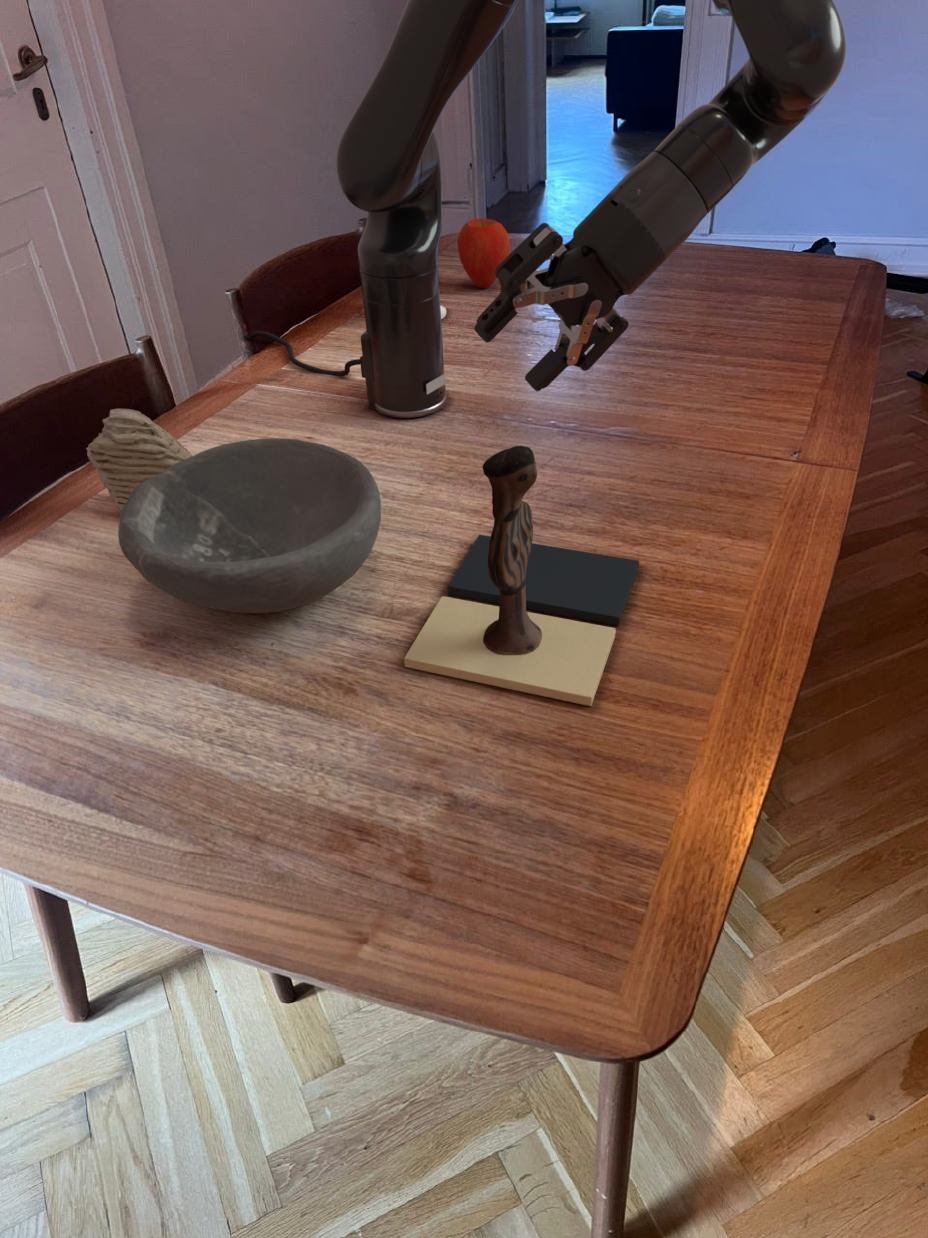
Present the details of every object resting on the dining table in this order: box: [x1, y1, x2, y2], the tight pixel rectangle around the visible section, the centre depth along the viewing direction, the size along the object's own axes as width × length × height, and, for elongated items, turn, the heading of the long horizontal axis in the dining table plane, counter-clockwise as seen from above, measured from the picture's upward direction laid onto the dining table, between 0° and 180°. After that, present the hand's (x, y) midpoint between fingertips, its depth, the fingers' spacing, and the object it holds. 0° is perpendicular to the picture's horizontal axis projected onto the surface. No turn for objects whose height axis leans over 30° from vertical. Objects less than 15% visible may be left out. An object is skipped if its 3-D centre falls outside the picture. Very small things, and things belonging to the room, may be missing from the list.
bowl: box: [117, 437, 382, 614], centre depth 82 cm, size 23×22×10 cm
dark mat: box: [447, 534, 640, 627], centre depth 83 cm, size 16×9×1 cm, turn 70°
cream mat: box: [403, 595, 617, 707], centre depth 75 cm, size 16×9×1 cm, turn 70°
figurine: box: [482, 445, 542, 655], centre depth 69 cm, size 7×5×18 cm
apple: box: [456, 217, 511, 290], centre depth 145 cm, size 9×8×11 cm
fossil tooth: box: [85, 407, 193, 511], centre depth 93 cm, size 12×6×15 cm
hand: (506, 361), depth 81 cm, fingers open, 8 cm apart
